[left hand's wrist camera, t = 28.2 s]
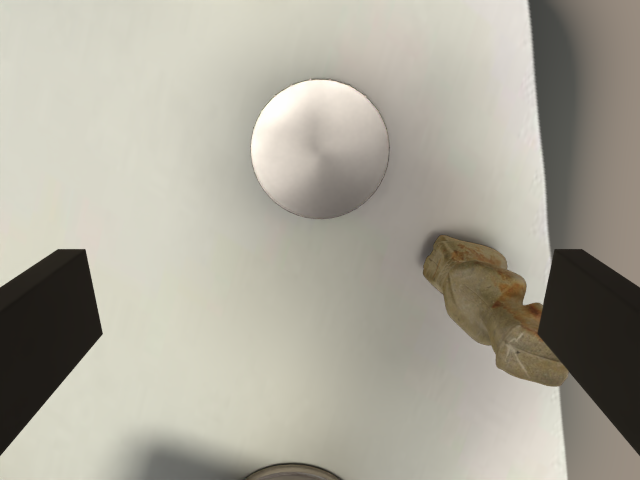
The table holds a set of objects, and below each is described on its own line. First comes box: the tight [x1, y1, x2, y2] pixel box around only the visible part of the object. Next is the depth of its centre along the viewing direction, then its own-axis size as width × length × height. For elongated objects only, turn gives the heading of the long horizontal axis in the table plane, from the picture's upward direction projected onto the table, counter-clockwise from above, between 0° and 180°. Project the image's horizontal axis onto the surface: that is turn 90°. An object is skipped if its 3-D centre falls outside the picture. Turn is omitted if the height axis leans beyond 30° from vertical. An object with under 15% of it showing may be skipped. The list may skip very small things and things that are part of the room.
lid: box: [250, 79, 390, 219], centre depth 36 cm, size 11×11×2 cm
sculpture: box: [423, 235, 569, 386], centre depth 33 cm, size 6×7×15 cm
